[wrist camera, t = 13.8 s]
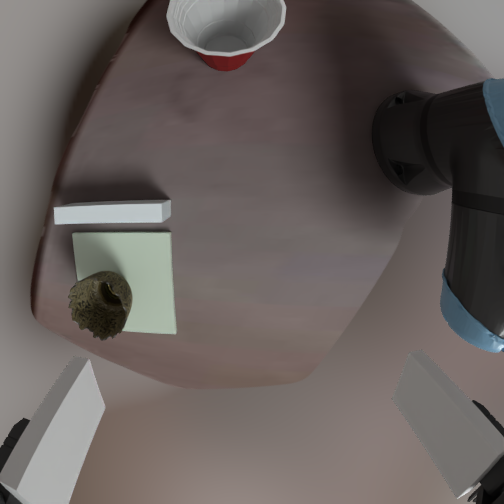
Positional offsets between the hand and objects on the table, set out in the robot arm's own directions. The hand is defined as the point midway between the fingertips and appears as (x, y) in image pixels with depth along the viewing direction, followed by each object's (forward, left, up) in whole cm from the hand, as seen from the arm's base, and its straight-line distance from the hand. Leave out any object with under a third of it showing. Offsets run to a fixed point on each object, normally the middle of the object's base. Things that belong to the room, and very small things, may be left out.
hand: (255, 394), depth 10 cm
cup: (+16, +6, -26) cm, 31 cm away
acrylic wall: (+15, -4, -27) cm, 31 cm away
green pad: (+15, +6, -27) cm, 31 cm away
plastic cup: (+2, -24, -27) cm, 36 cm away
